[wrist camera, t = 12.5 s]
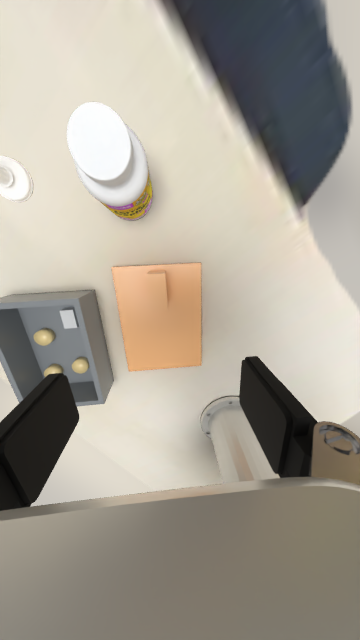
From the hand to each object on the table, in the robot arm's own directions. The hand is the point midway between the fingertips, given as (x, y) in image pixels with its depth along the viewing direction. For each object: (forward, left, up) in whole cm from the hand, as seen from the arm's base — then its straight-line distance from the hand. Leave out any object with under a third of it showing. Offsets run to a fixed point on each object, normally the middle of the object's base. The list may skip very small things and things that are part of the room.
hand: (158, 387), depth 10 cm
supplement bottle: (+15, +4, -23) cm, 27 cm away
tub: (-7, +18, -23) cm, 30 cm away
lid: (-4, +1, -22) cm, 22 cm away
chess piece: (+17, +19, -23) cm, 34 cm away
